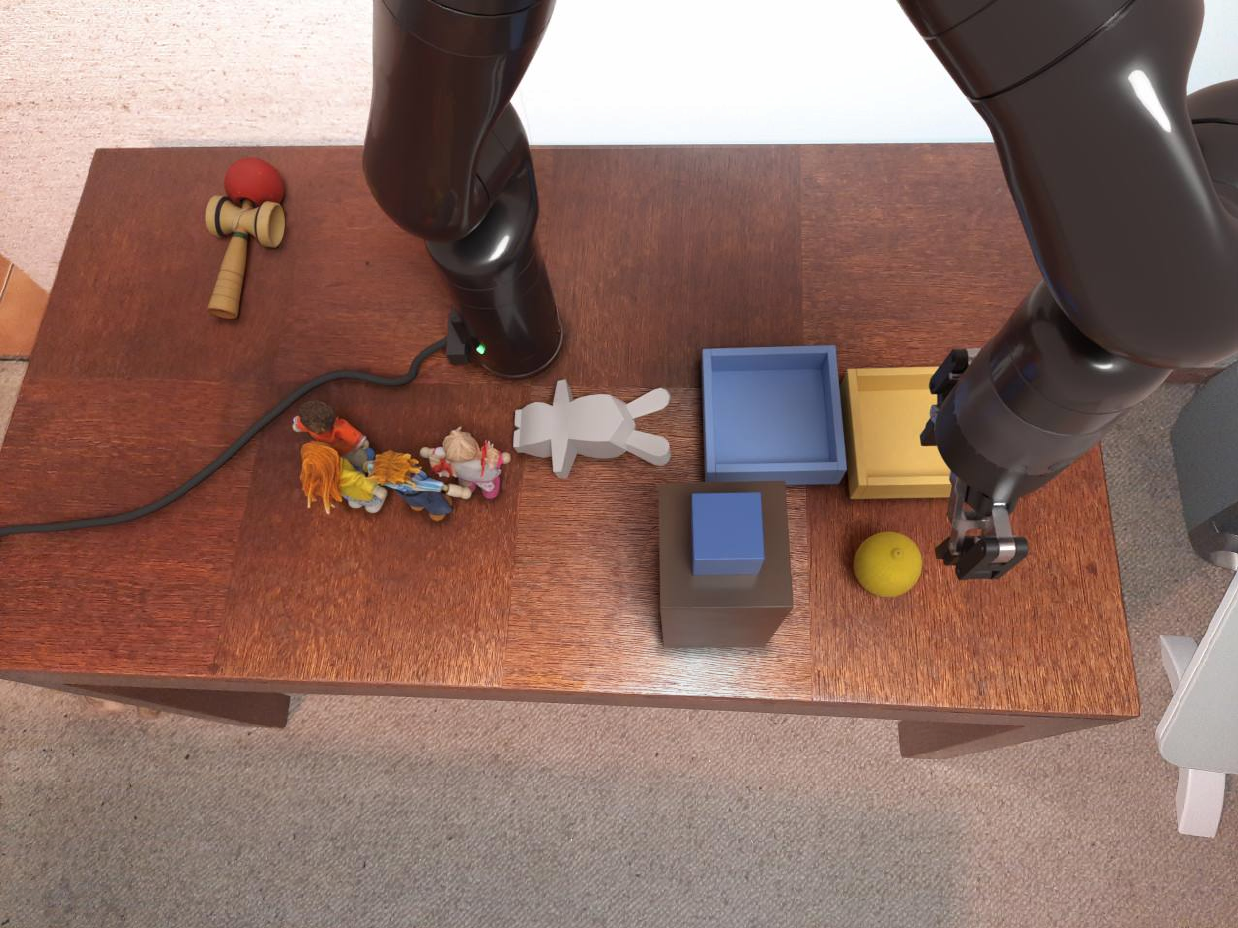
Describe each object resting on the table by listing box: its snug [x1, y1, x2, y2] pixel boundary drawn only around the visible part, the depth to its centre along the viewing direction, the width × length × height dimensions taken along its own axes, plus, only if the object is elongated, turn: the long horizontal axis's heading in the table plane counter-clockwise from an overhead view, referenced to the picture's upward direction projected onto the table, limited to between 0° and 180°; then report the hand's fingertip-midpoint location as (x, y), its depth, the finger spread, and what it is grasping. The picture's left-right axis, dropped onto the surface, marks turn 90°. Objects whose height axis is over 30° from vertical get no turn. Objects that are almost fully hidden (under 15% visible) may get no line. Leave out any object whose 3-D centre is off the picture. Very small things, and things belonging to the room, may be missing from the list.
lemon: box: [853, 531, 923, 598], centre depth 74 cm, size 6×6×8 cm
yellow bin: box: [839, 366, 952, 500], centre depth 80 cm, size 12×12×4 cm
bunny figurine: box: [512, 378, 672, 480], centre depth 82 cm, size 10×5×15 cm
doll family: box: [292, 399, 512, 522], centre depth 77 cm, size 21×10×13 cm, turn 77°
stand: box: [657, 481, 795, 649], centre depth 69 cm, size 9×9×20 cm
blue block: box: [691, 492, 765, 575], centre depth 57 cm, size 4×4×4 cm
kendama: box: [204, 156, 286, 320], centre depth 92 cm, size 8×6×18 cm
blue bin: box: [700, 344, 847, 486], centre depth 82 cm, size 13×13×4 cm
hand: (941, 497), depth 62 cm, fingers open, 8 cm apart
